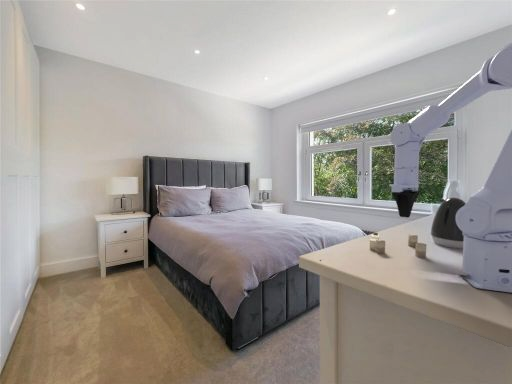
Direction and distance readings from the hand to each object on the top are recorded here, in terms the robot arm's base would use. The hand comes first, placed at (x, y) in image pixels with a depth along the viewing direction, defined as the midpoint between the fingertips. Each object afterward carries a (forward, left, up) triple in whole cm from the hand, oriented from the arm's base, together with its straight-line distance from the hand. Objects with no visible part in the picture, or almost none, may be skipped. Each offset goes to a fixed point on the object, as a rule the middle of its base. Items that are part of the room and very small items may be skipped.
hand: (404, 216), depth 65 cm
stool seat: (-3, +3, -10) cm, 11 cm away
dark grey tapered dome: (+8, -14, -10) cm, 19 cm away
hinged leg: (-2, +8, -9) cm, 12 cm away
